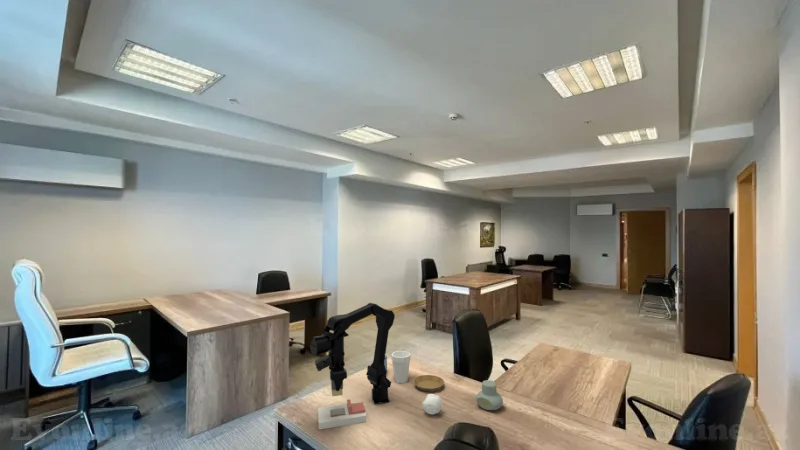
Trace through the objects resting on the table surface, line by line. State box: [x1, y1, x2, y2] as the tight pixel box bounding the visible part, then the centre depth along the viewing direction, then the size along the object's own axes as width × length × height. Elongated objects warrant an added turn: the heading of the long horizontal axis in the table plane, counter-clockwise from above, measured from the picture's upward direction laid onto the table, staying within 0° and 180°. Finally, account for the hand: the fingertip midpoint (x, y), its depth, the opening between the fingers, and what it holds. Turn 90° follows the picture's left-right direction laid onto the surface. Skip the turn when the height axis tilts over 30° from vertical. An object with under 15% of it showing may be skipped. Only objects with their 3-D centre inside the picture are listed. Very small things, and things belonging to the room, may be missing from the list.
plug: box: [330, 380, 344, 397], centre depth 134 cm, size 4×4×7 cm
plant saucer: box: [412, 374, 445, 393], centre depth 161 cm, size 15×15×3 cm
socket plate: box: [317, 401, 367, 430], centre depth 134 cm, size 18×11×2 cm, turn 105°
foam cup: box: [391, 350, 411, 384], centre depth 168 cm, size 10×9×13 cm
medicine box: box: [384, 354, 388, 373], centre depth 175 cm, size 8×4×9 cm, turn 168°
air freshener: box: [475, 379, 504, 411], centre depth 141 cm, size 11×8×10 cm
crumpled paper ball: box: [421, 393, 443, 415], centre depth 137 cm, size 8×8×8 cm
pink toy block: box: [346, 398, 366, 414], centre depth 136 cm, size 6×6×3 cm
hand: (337, 388), depth 134 cm, fingers closed on plug, 4 cm apart
